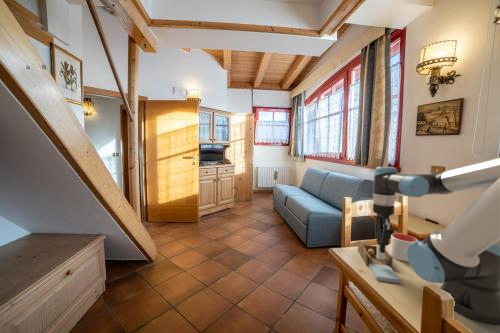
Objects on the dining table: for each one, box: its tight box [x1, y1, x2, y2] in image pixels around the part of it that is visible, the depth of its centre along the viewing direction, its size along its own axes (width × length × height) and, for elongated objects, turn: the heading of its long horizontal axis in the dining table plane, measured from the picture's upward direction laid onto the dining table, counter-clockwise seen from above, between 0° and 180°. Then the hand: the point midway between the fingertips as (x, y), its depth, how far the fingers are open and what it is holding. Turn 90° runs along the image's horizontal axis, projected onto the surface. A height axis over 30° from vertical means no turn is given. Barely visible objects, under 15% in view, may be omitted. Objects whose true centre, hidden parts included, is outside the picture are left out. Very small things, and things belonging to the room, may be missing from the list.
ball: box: [368, 249, 375, 255], centre depth 101 cm, size 3×3×3 cm
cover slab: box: [368, 263, 401, 284], centre depth 86 cm, size 10×8×2 cm
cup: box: [389, 232, 419, 263], centre depth 99 cm, size 10×10×10 cm
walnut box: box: [357, 241, 394, 269], centre depth 97 cm, size 14×10×5 cm
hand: (380, 258), depth 89 cm, fingers closed
